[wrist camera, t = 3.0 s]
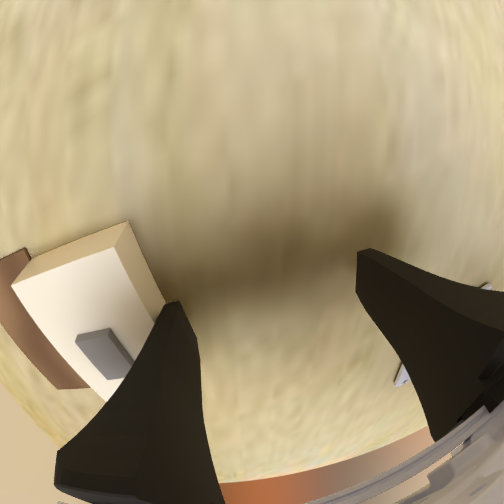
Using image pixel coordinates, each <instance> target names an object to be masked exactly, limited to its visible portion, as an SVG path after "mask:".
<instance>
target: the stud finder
mask: <svg viewBox="0 0 504 504" xmlns="http://www.w3.org/2000/svg"><path fill="white" fill-rule="evenodd" d="M11 287H12V288H13V290H14V292H15V293H16V295H17V296H18V298H19V299H20V301H21V303H22V304H23V306H24V307H25V309H26V310H27V311H28V313H29V314H30V316H31V317H32V319H33V320H34V321H35V323H36V324H37V326H38V327H39V328H40V330H41V331H42V332H43V334H44V335H45V336H46V337H47V339H48V340H49V341H50V342H51V344H52V345H53V346H54V347H55V349H56V350H57V351H58V352H59V353H60V355H61V356H62V357H63V358H64V359H65V360H66V361H67V363H68V364H69V365H70V366H71V367H72V368H73V369H74V370H75V371H76V372H77V374H78V375H79V376H80V377H81V378H82V379H83V380H84V381H85V382H86V383H87V384H88V385H89V386H90V387H91V388H92V389H93V390H94V391H95V392H96V393H97V394H98V395H99V396H100V397H101V398H103V399H104V400H105V401H106V402H107V401H108V400H109V399H110V397H111V396H112V395H113V394H114V392H115V391H116V390H117V388H118V387H119V385H120V384H121V382H122V381H123V379H124V378H125V376H126V375H127V373H128V372H129V370H130V369H131V367H132V365H133V363H134V362H135V360H136V358H137V356H138V355H139V353H140V351H141V349H142V347H143V345H144V343H145V341H146V340H147V338H148V336H149V334H150V332H151V330H152V328H153V326H154V324H155V322H156V320H157V318H158V316H159V314H160V312H161V310H162V308H163V306H164V304H166V302H165V300H164V298H163V296H162V294H161V292H160V290H159V288H158V286H157V284H156V282H155V280H154V278H153V276H152V274H151V272H150V269H149V267H148V265H147V263H146V261H145V259H144V256H143V254H142V252H141V250H140V247H139V245H138V243H137V240H136V238H135V236H134V233H133V231H132V229H131V226H130V224H129V221H126V222H123V223H120V224H118V225H115V226H112V227H109V228H107V229H104V230H101V231H99V232H96V233H93V234H91V235H88V236H85V237H83V238H80V239H78V240H75V241H73V242H70V243H68V244H65V245H63V246H60V247H58V248H56V249H53V250H51V251H48V252H46V253H44V254H41V255H39V256H37V257H35V258H32V259H31V261H30V262H29V263H28V264H27V265H26V267H25V268H24V269H23V270H22V272H21V273H20V274H19V275H18V277H17V278H16V279H15V281H14V282H13V283H12V285H11Z"/></svg>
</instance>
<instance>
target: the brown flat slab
mask: <svg viewBox="0 0 504 504" xmlns="http://www.w3.org/2000/svg"><path fill="white" fill-rule="evenodd" d="M30 261H31V258H30V256H29V254H28V252H27V250H26V248H24V249H22V250H19V251H17V252H15V253H13V254H11V255H9V256H7V257H5V258H3V259H1V260H0V323H1V325H2V326H3V327H4V329H5V330H6V331H7V333H8V334H9V335H10V337H11V338H12V339H13V341H14V342H15V343H16V344H17V346H18V347H19V348H20V349H21V351H22V352H23V353H24V354H25V355H26V356H27V358H28V359H29V360H30V361H31V362H32V363H33V364H34V366H35V367H36V368H37V369H38V370H39V371H40V372H41V373H42V374H43V375H44V376H45V377H46V378H47V379H48V380H49V381H50V382H51V384H52V385H54V386H55V387H56V388H57V389H78V388H91V387H90V386H89V385H88V384H87V383H86V382H85V381H84V380H83V379H82V378H81V377H80V376H79V375H78V374H77V372H76V371H75V370H74V369H73V368H72V367H71V366H70V365H69V364H68V363H67V361H66V360H65V359H64V358H63V357H62V356H61V355H60V353H59V352H58V351H57V350H56V349H55V347H54V346H53V345H52V344H51V342H50V341H49V340H48V339H47V337H46V336H45V335H44V334H43V332H42V331H41V330H40V328H39V327H38V326H37V324H36V323H35V321H34V320H33V319H32V317H31V316H30V314H29V313H28V311H27V310H26V309H25V307H24V306H23V304H22V303H21V301H20V299H19V298H18V296H17V295H16V293H15V292H14V290H13V288H12V287H11V285H12V283H13V282H14V281H15V279H16V278H17V277H18V275H19V274H20V273H21V272H22V270H23V269H24V268H25V267H26V265H27V264H28V263H29V262H30Z"/></svg>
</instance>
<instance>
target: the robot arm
mask: <svg viewBox="0 0 504 504" xmlns="http://www.w3.org/2000/svg"><path fill="white" fill-rule="evenodd" d="M491 289H492V285H491V284H490V283H488V284H486V285H485V286H483V287H482V288H477V287H473V286H469V285H465V284H461V283H458V282H455V281H451V280H448V279H445V278H442V277H439V276H437V275H434V274H432V273H429V272H426V271H424V270H422V269H419V268H417V267H414V266H412V265H410V264H408V263H405V262H403V261H401V260H398V259H396V258H394V257H392V256H389V255H387V254H385V253H382V252H380V251H377V250H374V249H371V248H368V249H365V250H362V251H359V252H357V272H356V291H355V292H356V294H357V296H358V297H359V299H360V301H361V303H362V305H363V306H364V308H365V310H366V311H367V313H368V314H369V316H370V317H371V318H372V320H373V321H374V322H375V324H376V325H377V326H378V328H379V329H380V330H381V332H382V333H383V335H384V336H385V337H386V339H387V340H388V341H389V343H390V344H391V345H392V347H393V348H394V350H395V351H396V353H397V354H398V356H399V358H400V360H401V361H402V365H401V368H400V370H399V373H398V375H397V378H396V380H395V383H394V385H395V386H396V387H399V386H401V385H403V384H405V383H407V382H409V381H410V380H411V381H412V383H413V385H414V388H415V390H416V392H417V395H418V397H419V400H420V402H421V405H422V407H423V410H424V413H425V416H426V419H427V423H428V426H429V429H430V433H431V436H432V438H433V440H434V441H435V443H434V444H433V445H431V446H430V447H428V448H426V449H425V450H423V451H422V452H420V453H418V454H417V455H415V456H413V457H412V458H410V459H408V460H406V461H405V462H403V463H401V464H399V465H397V466H396V467H394V468H392V469H390V470H388V471H386V472H384V473H382V474H380V475H378V476H376V477H373V478H371V479H369V480H367V481H365V482H362V483H360V484H358V485H355V486H353V487H350V488H348V489H345V490H343V491H340V492H338V493H335V494H332V495H329V496H326V497H323V498H320V499H317V500H314V501H310V502H307V503H303V504H358V503H361V502H363V501H365V500H368V499H370V498H372V497H374V496H376V495H378V494H380V493H383V492H385V491H387V490H389V489H390V488H393V487H394V486H396V485H398V484H400V483H402V482H404V481H406V480H407V479H409V478H411V477H412V476H414V475H416V474H417V473H419V472H421V471H422V470H424V469H426V468H427V467H429V466H430V465H432V464H433V463H435V462H436V461H438V460H439V459H441V458H442V457H444V456H445V455H446V454H448V453H449V452H450V451H452V450H453V449H454V448H456V447H457V446H458V445H460V444H461V443H462V442H463V441H464V443H463V444H462V445H460V446H459V447H458V448H456V449H455V450H454V451H452V452H451V455H452V458H450V459H449V460H447V461H446V462H444V463H443V464H442V465H440V466H439V467H437V468H436V469H435V470H433V471H432V472H430V473H429V474H428V475H427V477H428V479H429V481H430V483H429V484H428V485H426V486H425V487H423V488H421V489H420V490H418V491H416V492H414V493H412V494H411V495H409V496H407V497H405V498H403V499H401V500H399V501H398V502H396V503H394V504H504V292H500V291H493V290H491ZM54 485H55V487H56V488H57V489H58V490H60V491H62V492H64V493H66V494H68V495H71V496H73V497H75V498H78V499H81V500H83V501H86V502H89V503H92V504H225V501H224V498H223V495H222V492H221V489H220V486H219V483H218V480H217V476H216V473H215V469H214V466H213V462H212V458H211V453H210V449H209V445H208V440H207V435H206V430H205V425H204V419H203V410H202V391H201V367H200V356H199V349H198V343H197V337H196V335H195V333H194V331H193V329H192V327H191V325H190V323H189V321H188V318H187V316H186V314H185V312H184V310H183V308H182V305H181V303H180V301H177V302H173V303H169V304H164V306H163V308H162V310H161V312H160V314H159V316H158V318H157V320H156V322H155V324H154V326H153V328H152V330H151V332H150V334H149V336H148V338H147V340H146V341H145V343H144V345H143V347H142V349H141V351H140V353H139V355H138V356H137V358H136V360H135V362H134V363H133V365H132V367H131V369H130V370H129V372H128V373H127V375H126V376H125V378H124V379H123V381H122V382H121V384H120V385H119V387H118V388H117V390H116V391H115V392H114V394H113V395H112V396H111V397H110V399H109V400H108V401H107V402H106V404H105V405H104V406H103V407H102V409H101V410H100V411H99V412H98V413H97V414H96V416H95V417H94V418H93V419H92V420H91V421H90V422H89V423H88V424H87V425H86V426H85V427H84V428H83V429H82V430H81V431H80V432H79V433H78V434H77V435H76V436H75V437H74V438H72V439H71V440H70V441H69V442H68V443H67V444H66V445H64V446H63V447H62V448H61V449H60V450H58V451H57V457H56V465H55V476H54ZM58 504H67V503H63V502H60V501H59V502H58Z"/></svg>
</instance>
